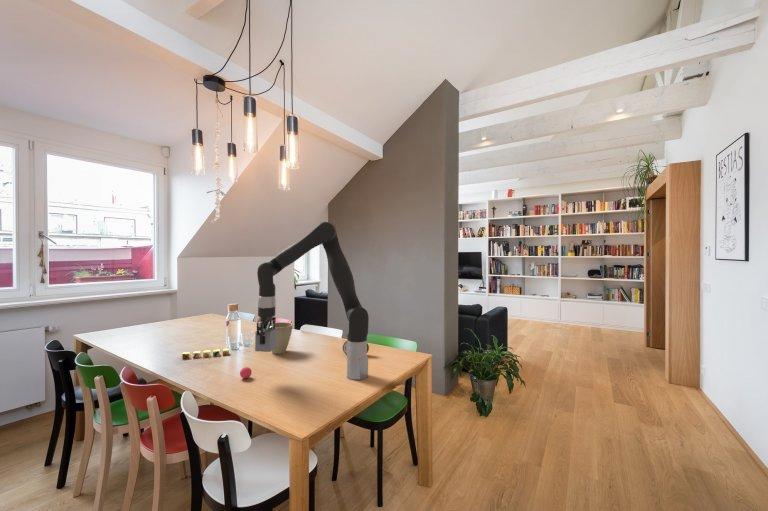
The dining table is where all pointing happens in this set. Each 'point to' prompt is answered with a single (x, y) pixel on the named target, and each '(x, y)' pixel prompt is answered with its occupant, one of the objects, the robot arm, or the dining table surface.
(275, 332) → the matte grey cube
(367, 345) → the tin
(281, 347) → the plant pot
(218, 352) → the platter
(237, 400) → the dining table surface
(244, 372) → the ball
